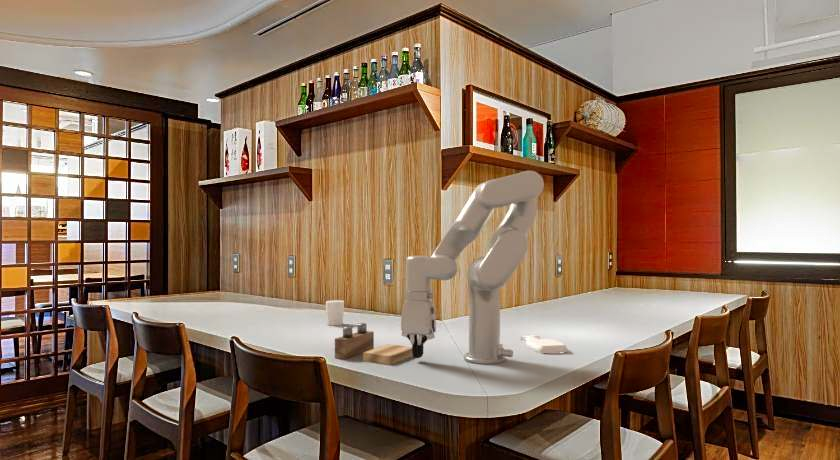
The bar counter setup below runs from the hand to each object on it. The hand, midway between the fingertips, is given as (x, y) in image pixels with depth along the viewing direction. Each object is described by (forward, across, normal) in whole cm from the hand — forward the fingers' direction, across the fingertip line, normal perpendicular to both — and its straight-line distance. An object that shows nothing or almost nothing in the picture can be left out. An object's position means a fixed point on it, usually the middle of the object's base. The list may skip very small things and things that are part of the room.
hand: (417, 357), depth 158 cm
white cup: (+2, +63, -42) cm, 76 cm away
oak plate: (+2, +10, 0) cm, 10 cm away
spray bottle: (+2, -27, -40) cm, 48 cm away
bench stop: (+2, +23, 0) cm, 23 cm away
